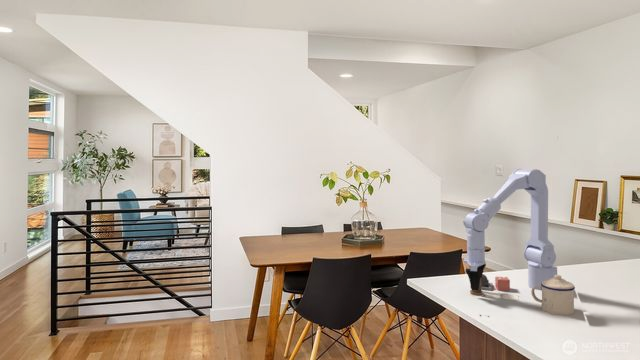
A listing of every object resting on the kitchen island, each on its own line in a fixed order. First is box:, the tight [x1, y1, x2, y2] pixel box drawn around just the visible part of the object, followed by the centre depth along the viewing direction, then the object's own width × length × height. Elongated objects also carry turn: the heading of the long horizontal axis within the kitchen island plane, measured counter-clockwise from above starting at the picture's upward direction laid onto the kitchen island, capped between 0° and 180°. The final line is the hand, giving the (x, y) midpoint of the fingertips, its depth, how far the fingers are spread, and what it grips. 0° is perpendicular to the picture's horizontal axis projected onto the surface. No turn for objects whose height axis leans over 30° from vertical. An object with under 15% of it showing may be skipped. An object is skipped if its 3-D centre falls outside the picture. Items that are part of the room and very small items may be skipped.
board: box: [468, 282, 519, 301], centre depth 151 cm, size 18×18×2 cm
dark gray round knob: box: [481, 274, 490, 287], centre depth 157 cm, size 5×5×5 cm
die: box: [494, 276, 511, 292], centre depth 154 cm, size 4×4×4 cm
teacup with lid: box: [531, 274, 576, 316], centre depth 133 cm, size 12×9×12 cm
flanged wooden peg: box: [469, 279, 484, 297], centre depth 150 cm, size 4×4×6 cm
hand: (476, 286), depth 150 cm, fingers open, 7 cm apart
